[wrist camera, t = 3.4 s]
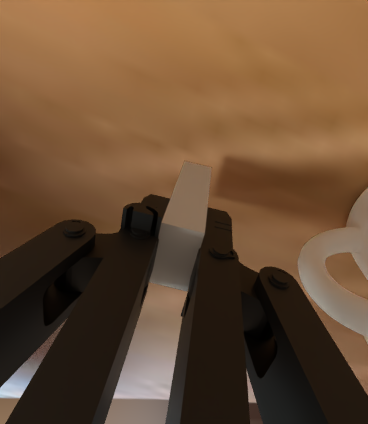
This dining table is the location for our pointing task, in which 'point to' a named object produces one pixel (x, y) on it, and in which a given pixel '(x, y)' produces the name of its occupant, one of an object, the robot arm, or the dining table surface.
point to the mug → (323, 282)
